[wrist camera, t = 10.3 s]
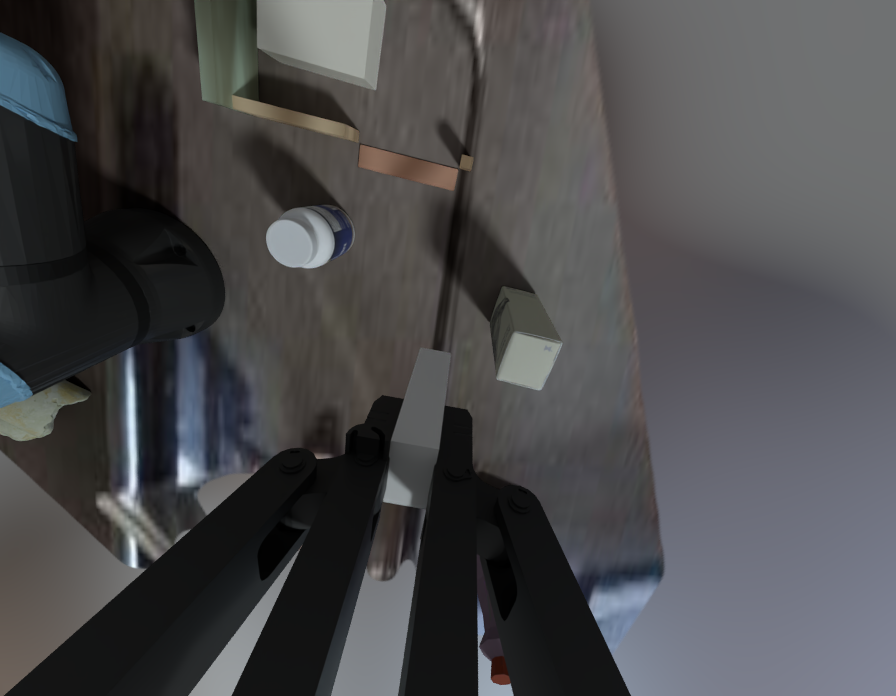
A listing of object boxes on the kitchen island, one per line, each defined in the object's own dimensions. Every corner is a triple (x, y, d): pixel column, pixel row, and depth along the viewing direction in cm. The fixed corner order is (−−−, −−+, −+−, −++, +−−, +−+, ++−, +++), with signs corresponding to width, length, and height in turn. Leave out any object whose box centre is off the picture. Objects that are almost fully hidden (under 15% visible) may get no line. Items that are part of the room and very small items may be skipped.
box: (501, 284, 38) (513, 326, 27) (538, 294, 39) (566, 340, 27) (488, 325, 41) (494, 380, 29) (522, 334, 41) (542, 392, 29)
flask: (446, 480, 52) (432, 633, 34) (551, 490, 52) (593, 651, 34) (441, 547, 60) (427, 702, 42) (533, 556, 59) (560, 718, 41)
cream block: (282, 63, 31) (256, 47, 27) (284, -24, 28) (256, -54, 25) (376, 91, 32) (364, 78, 28) (387, 7, 29) (374, -18, 25)
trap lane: (247, 138, 34) (204, 129, 28) (238, -133, 26) (176, -217, 20) (465, 193, 35) (464, 195, 29) (521, -52, 27) (534, -113, 21)
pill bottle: (335, 265, 39) (295, 288, 30) (298, 228, 37) (244, 241, 28) (366, 232, 37) (332, 247, 28) (328, 192, 35) (281, 194, 27)
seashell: (-5, 460, 46) (-86, 409, 41) (49, 420, 53) (-15, 372, 48) (71, 435, 45) (-3, 379, 40) (117, 397, 52) (58, 345, 47)
